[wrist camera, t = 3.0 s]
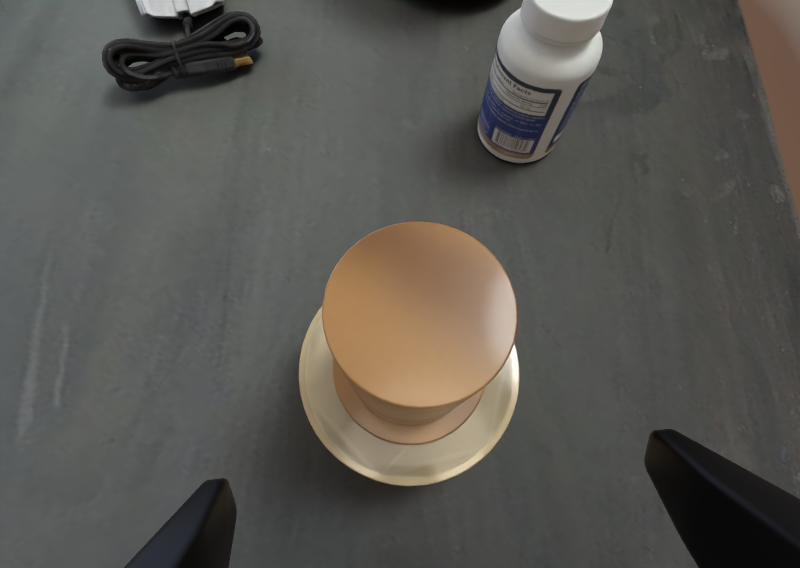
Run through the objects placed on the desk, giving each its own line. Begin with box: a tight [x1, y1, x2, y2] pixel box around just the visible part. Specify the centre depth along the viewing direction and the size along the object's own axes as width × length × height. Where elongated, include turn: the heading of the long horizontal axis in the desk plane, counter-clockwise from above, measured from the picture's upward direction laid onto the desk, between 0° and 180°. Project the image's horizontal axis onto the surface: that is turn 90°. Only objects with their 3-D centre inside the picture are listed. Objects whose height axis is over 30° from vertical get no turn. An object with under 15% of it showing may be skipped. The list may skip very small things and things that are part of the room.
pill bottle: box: [478, 0, 613, 163], centre depth 25 cm, size 5×5×10 cm
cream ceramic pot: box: [299, 307, 519, 486], centre depth 21 cm, size 9×9×5 cm
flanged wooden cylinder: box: [322, 221, 518, 445], centre depth 15 cm, size 6×6×8 cm
